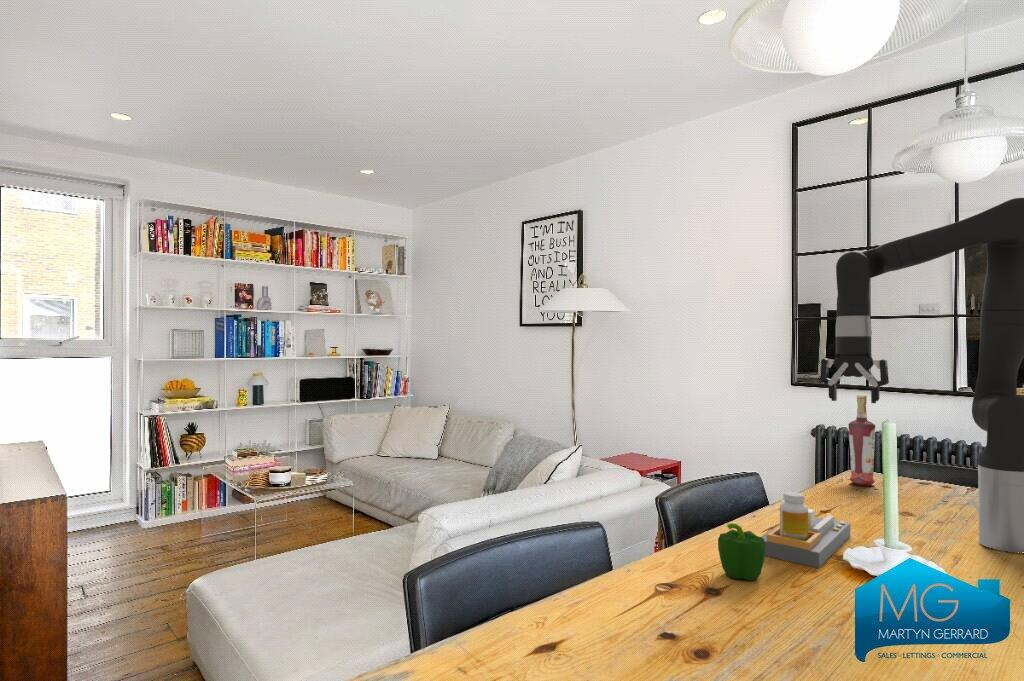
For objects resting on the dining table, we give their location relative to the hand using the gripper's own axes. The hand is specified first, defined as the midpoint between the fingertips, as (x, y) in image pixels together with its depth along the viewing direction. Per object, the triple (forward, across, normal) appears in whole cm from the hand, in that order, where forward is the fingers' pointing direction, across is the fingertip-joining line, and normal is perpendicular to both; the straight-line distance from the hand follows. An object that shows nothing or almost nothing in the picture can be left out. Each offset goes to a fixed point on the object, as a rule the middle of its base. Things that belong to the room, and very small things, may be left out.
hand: (853, 401), depth 143 cm
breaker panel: (+30, -5, -22) cm, 38 cm away
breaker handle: (+27, -5, -24) cm, 36 cm away
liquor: (+30, -8, +50) cm, 59 cm away
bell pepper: (+30, -9, -49) cm, 58 cm away
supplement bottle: (+27, -5, -30) cm, 41 cm away
